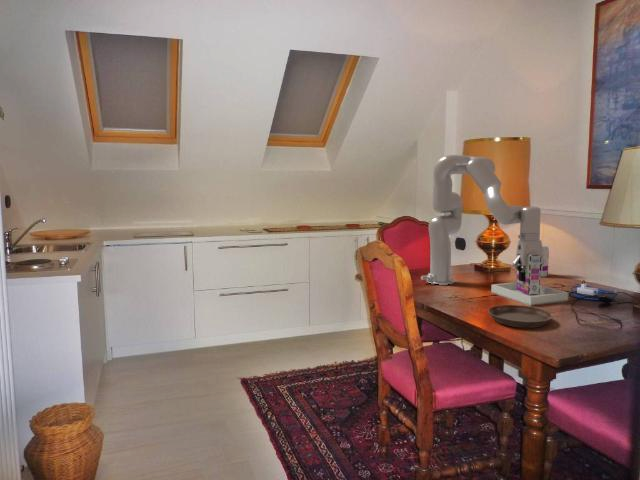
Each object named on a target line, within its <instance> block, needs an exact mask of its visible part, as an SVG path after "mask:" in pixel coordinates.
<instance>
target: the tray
mask: <svg viewBox="0 0 640 480" xmlns="http://www.w3.org/2000/svg"><path fill="white" fill-rule="evenodd" d="M490 285H491V288H490V289H491V290H490V291H491V293H492V294H494V295H498V296H500V297H503V298H506V299H509V300H513V301H516V302H518V303H520V304H524V305H525V306H528V307H533V306H540V305H541V306H543V305H548V304H549V305H550V304H556V303H557V304H558V303H565V302H568V301H569V292H568V291H564V290H560V289H556V288H553V287H550V286H549V287H548V286H544V285H541V284H540V294H539V295H528V294H526V293H523V292H521V291H519V290H517V289H516V285H517V281H514V282H513V281H512V282H504V283H503V282H502V283H494V284H490Z"/></svg>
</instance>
